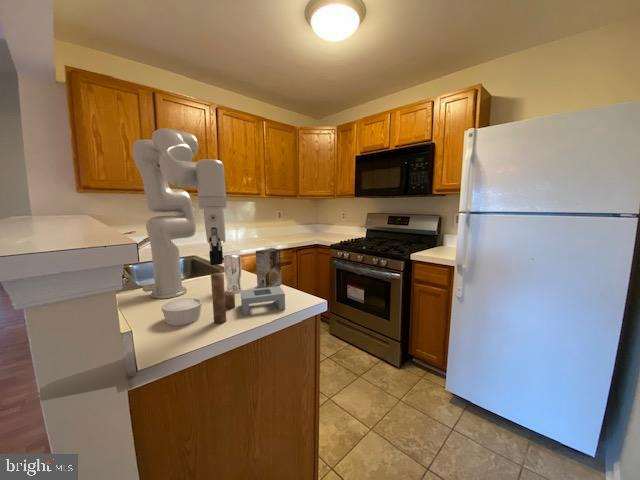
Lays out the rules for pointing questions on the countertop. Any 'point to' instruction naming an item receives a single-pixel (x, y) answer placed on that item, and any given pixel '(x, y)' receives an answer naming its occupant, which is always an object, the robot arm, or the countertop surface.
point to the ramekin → (182, 311)
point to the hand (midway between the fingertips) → (217, 261)
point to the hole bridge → (262, 297)
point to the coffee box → (268, 268)
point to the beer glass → (233, 272)
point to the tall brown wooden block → (218, 298)
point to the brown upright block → (230, 300)
